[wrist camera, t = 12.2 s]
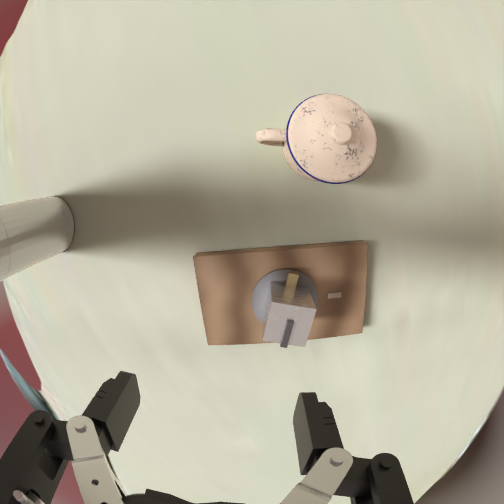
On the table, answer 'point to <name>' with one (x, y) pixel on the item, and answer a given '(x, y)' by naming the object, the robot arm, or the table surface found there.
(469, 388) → the table surface
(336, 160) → the teacup with lid
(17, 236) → the robot arm
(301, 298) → the white block
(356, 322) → the walnut base
